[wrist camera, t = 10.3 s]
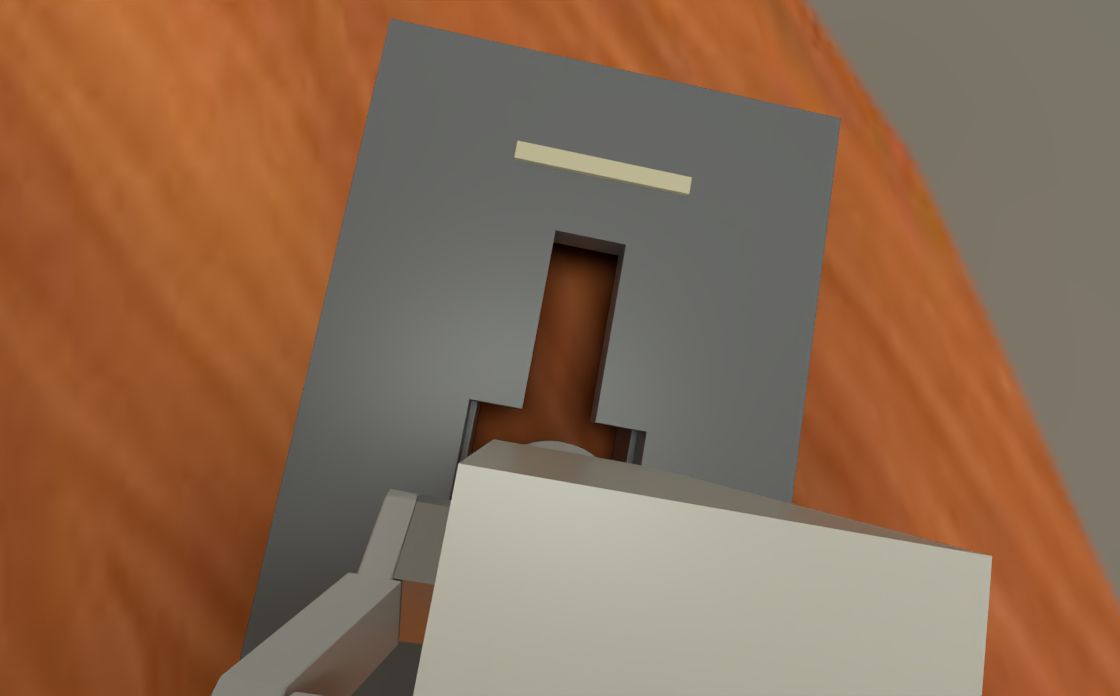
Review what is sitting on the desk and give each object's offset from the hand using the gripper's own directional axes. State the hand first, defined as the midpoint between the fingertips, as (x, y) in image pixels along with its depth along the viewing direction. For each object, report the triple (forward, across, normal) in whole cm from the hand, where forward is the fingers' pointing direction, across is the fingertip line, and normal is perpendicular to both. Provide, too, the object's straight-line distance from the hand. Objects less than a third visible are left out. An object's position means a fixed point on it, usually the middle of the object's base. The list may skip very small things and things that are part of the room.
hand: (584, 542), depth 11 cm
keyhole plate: (+12, 0, +7) cm, 14 cm away
